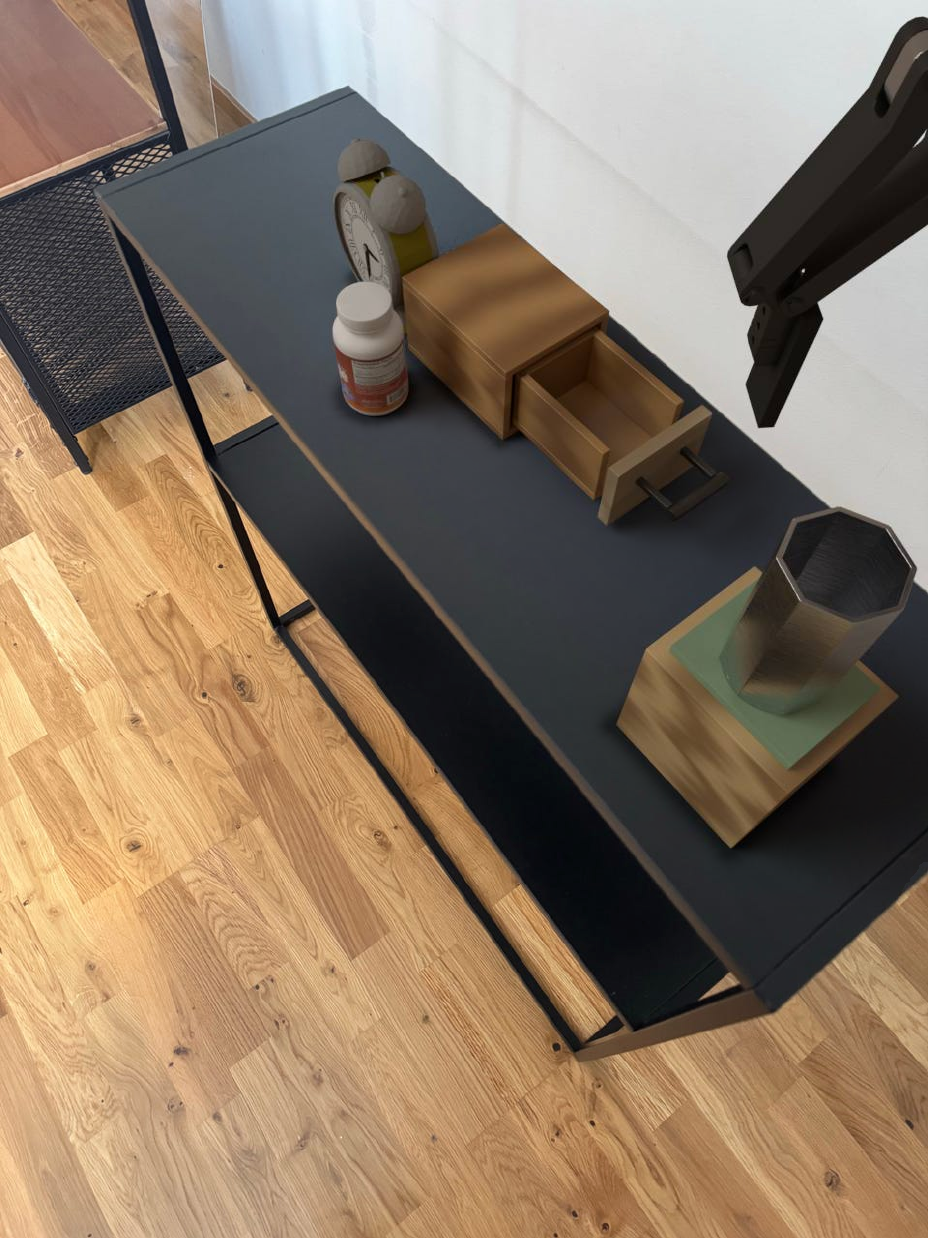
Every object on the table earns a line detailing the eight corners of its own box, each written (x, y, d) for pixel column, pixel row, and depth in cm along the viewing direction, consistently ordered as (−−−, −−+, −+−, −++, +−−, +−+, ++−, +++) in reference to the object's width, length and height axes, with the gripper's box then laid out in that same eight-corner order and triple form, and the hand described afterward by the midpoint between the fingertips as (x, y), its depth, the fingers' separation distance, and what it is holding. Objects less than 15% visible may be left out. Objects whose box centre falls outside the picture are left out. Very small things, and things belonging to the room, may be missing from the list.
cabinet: (597, 381, 84) (609, 310, 76) (502, 440, 80) (505, 372, 73) (500, 296, 89) (502, 222, 82) (407, 348, 86) (401, 276, 78)
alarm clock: (341, 277, 91) (319, 137, 78) (398, 252, 92) (386, 111, 79) (399, 346, 86) (385, 211, 73) (458, 319, 88) (455, 182, 75)
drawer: (734, 500, 76) (756, 449, 70) (646, 564, 73) (661, 516, 67) (591, 375, 83) (601, 319, 77) (505, 429, 80) (508, 375, 74)
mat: (876, 693, 54) (881, 688, 54) (787, 771, 52) (791, 766, 51) (755, 583, 58) (759, 577, 57) (668, 651, 56) (670, 645, 55)
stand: (825, 765, 66) (899, 696, 54) (730, 849, 63) (788, 794, 51) (708, 651, 70) (755, 565, 59) (615, 724, 67) (645, 648, 56)
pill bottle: (346, 368, 85) (329, 274, 75) (410, 368, 85) (402, 274, 75) (341, 418, 82) (323, 326, 72) (407, 418, 82) (399, 326, 72)
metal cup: (839, 646, 55) (927, 540, 44) (808, 732, 52) (893, 640, 42) (741, 604, 56) (804, 491, 46) (706, 686, 54) (763, 586, 43)
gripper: (1614, -244, 25) (1126, 326, 44) (748, -213, 24) (627, 353, 43) (1823, -116, 22) (1195, 445, 40) (817, -75, 21) (653, 476, 40)
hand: (901, 398), depth 42 cm, fingers open, 13 cm apart
